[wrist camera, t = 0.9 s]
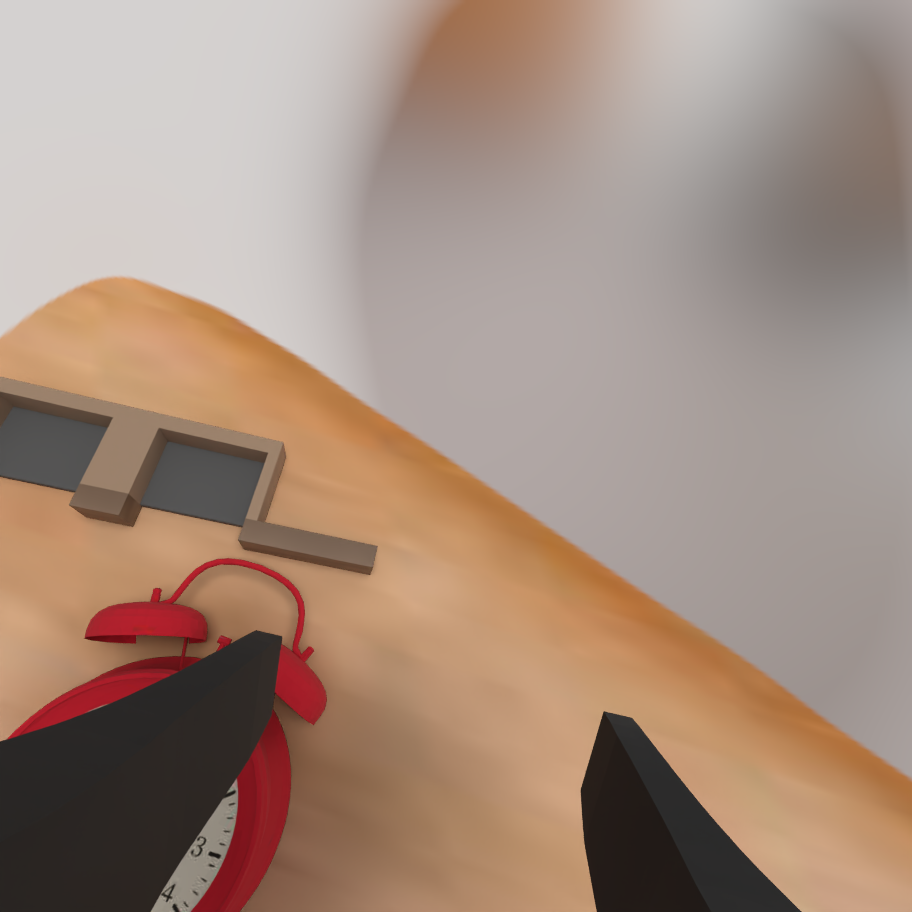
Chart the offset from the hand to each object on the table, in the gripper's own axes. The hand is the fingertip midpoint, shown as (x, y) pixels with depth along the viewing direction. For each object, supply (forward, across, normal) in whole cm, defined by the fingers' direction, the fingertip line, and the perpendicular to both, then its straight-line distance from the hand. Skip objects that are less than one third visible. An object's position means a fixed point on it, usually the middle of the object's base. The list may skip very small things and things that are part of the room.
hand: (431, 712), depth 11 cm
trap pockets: (+13, +16, +1) cm, 21 cm away
